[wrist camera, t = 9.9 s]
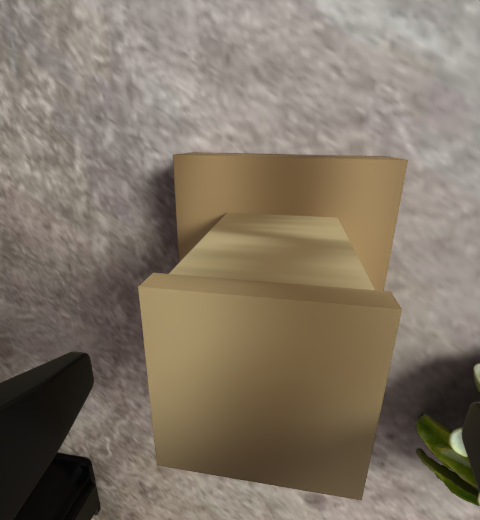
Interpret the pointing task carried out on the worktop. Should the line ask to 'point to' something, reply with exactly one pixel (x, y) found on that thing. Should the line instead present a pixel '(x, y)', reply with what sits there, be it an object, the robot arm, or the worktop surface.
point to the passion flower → (449, 454)
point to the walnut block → (294, 196)
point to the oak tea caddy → (269, 355)
